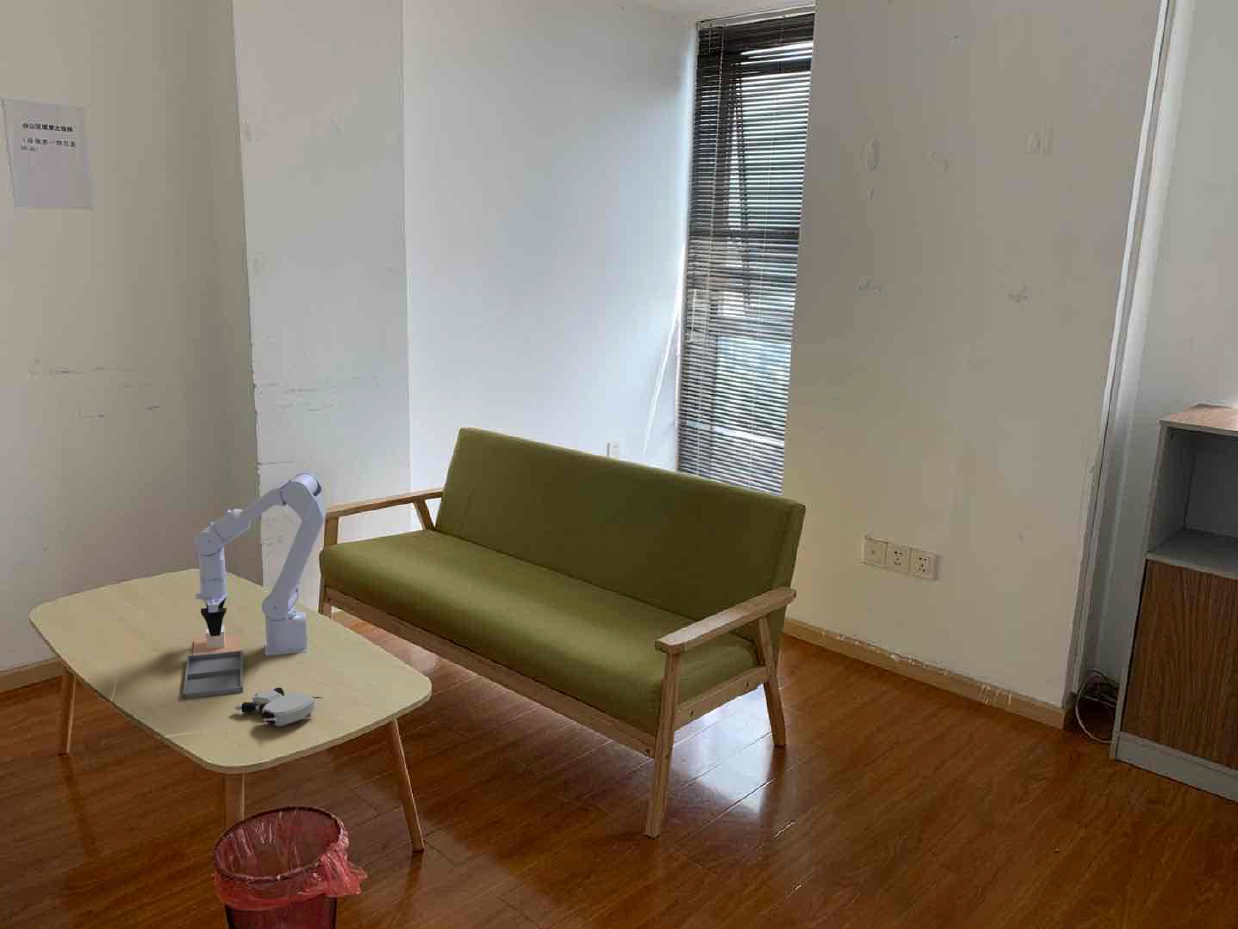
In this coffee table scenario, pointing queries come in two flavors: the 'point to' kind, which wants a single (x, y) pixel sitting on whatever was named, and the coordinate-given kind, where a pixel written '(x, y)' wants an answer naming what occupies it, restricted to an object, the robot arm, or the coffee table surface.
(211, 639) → the letter cube
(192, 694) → the sorting tray
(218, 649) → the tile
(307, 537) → the robot arm
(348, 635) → the coffee table surface
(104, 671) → the coffee table surface
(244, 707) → the robot toy
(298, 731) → the coffee table surface
